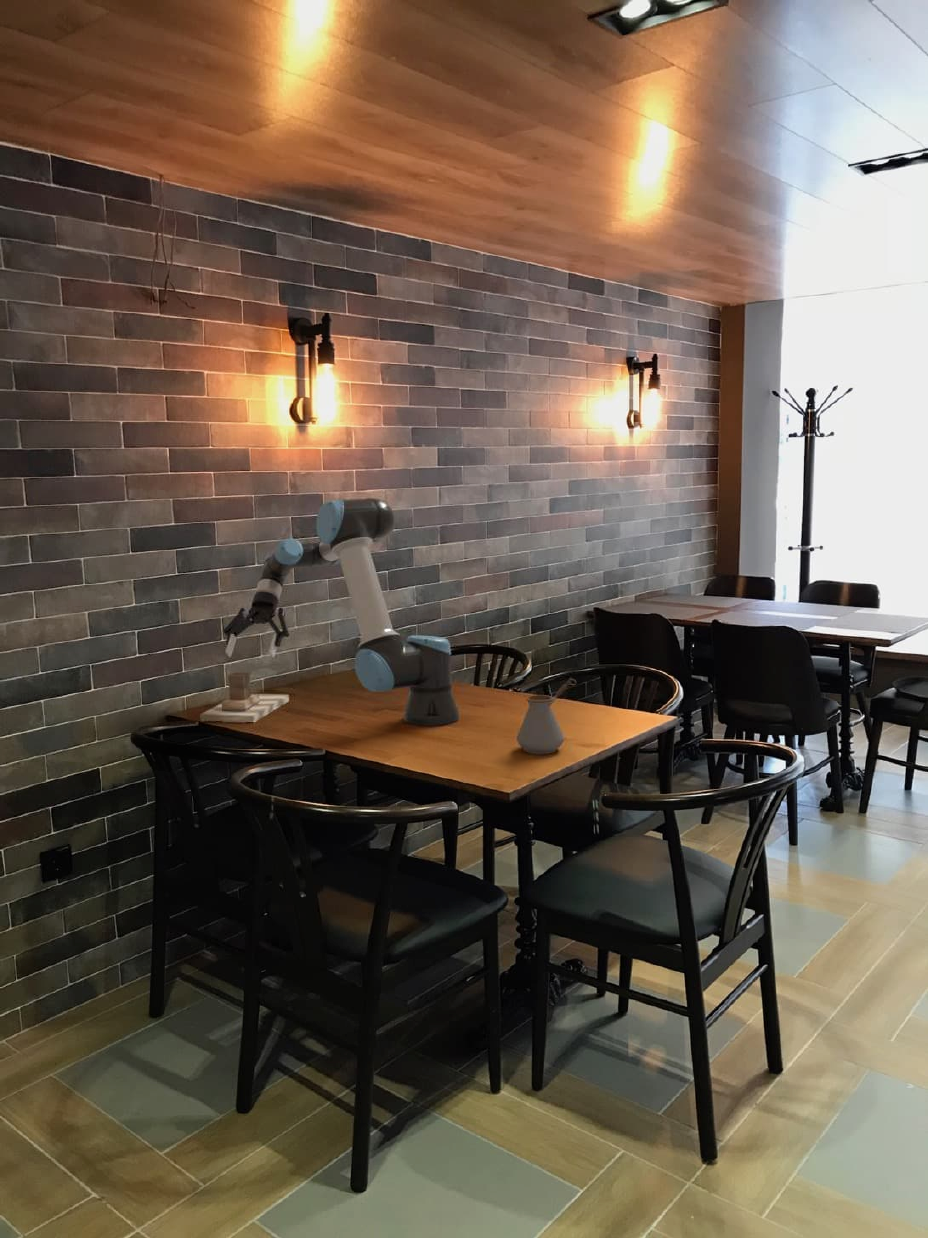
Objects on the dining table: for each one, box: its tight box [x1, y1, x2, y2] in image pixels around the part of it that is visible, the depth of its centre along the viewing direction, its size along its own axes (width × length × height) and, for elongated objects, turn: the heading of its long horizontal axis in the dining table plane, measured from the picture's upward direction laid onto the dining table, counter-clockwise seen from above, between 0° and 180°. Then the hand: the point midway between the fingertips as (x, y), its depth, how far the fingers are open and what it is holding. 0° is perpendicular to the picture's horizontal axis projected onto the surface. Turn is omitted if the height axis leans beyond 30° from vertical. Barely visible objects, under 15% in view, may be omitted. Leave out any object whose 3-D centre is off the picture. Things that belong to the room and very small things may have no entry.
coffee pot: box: [516, 677, 577, 755], centre depth 239 cm, size 21×12×15 cm, turn 143°
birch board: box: [199, 693, 290, 723], centre depth 286 cm, size 26×16×2 cm, turn 168°
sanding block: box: [221, 672, 260, 711], centre depth 282 cm, size 11×7×10 cm, turn 171°
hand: (249, 654), depth 288 cm, fingers open, 13 cm apart
